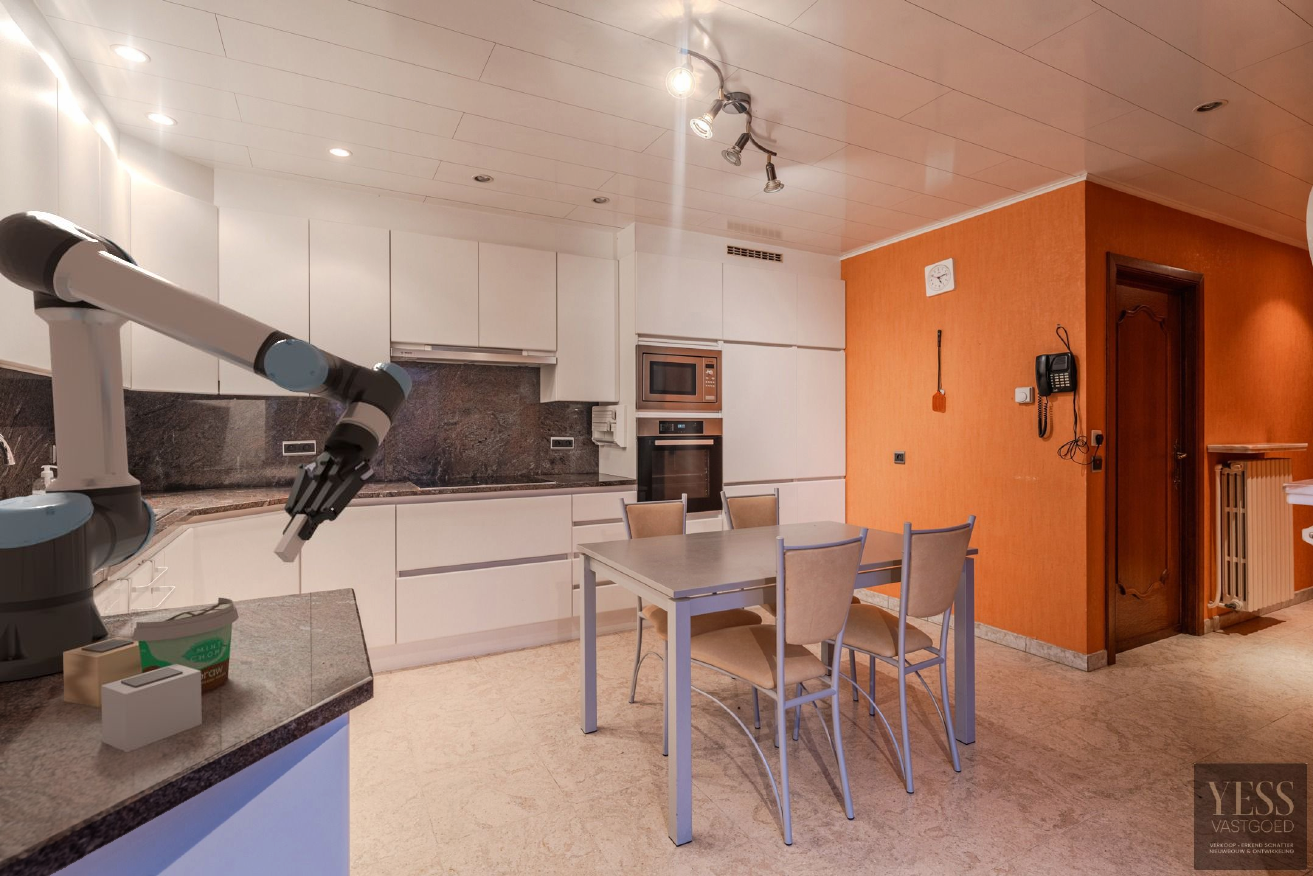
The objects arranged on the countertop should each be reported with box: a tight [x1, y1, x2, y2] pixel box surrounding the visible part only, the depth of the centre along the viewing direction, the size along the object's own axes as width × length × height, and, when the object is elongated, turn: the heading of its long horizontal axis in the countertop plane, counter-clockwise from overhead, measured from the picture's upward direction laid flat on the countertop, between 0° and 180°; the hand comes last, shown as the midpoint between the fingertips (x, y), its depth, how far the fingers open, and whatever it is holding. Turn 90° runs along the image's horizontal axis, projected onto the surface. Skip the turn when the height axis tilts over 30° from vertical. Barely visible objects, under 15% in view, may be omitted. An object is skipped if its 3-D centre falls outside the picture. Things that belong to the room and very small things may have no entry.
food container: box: [132, 597, 239, 696], centre depth 81 cm, size 12×6×10 cm, turn 168°
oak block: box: [63, 636, 142, 708], centre depth 80 cm, size 6×6×6 cm
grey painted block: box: [101, 664, 203, 753], centre depth 69 cm, size 5×7×6 cm
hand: (283, 557), depth 91 cm, fingers closed
